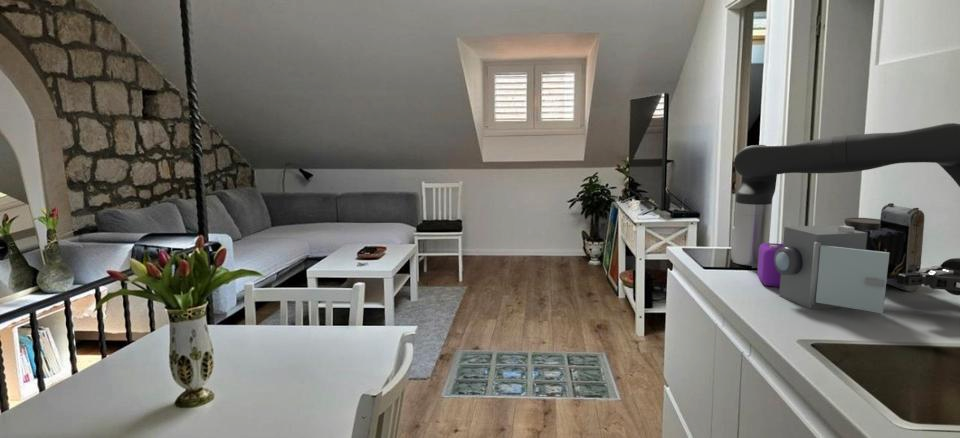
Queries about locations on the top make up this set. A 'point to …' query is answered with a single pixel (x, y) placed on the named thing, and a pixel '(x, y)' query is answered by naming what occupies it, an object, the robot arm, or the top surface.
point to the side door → (849, 277)
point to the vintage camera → (898, 240)
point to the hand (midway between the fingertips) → (900, 279)
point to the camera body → (809, 257)
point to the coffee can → (863, 223)
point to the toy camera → (768, 264)
